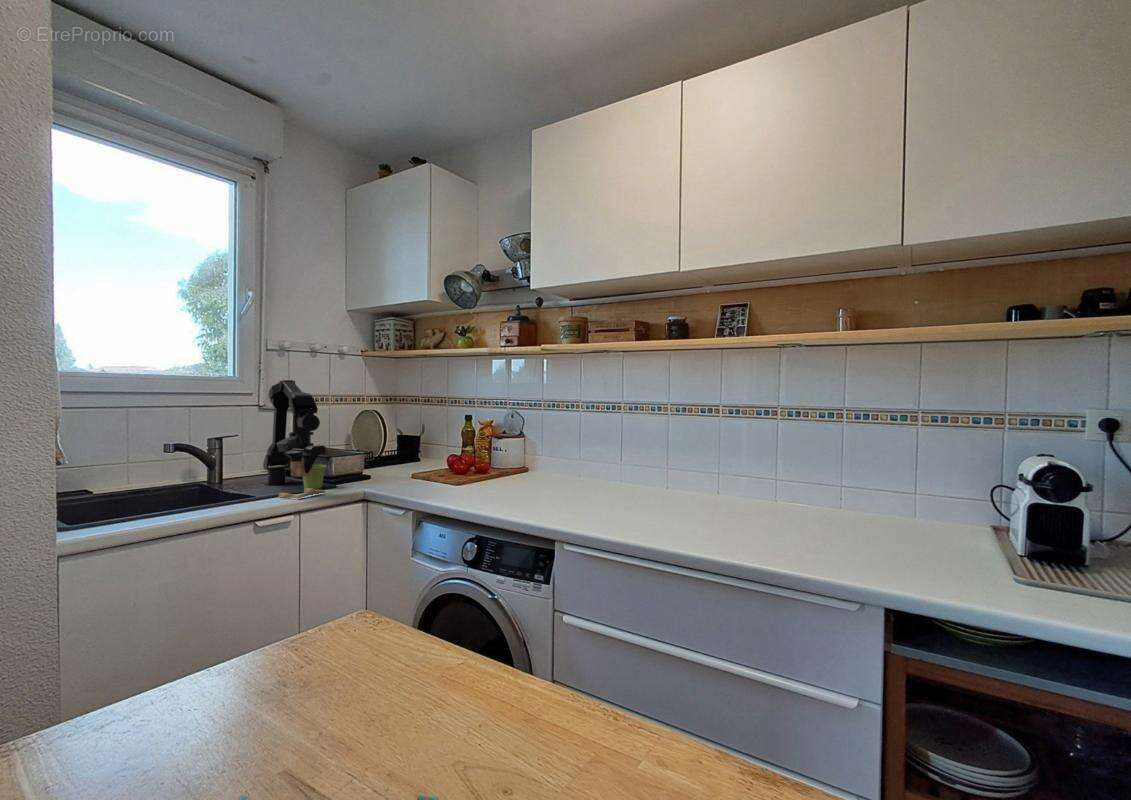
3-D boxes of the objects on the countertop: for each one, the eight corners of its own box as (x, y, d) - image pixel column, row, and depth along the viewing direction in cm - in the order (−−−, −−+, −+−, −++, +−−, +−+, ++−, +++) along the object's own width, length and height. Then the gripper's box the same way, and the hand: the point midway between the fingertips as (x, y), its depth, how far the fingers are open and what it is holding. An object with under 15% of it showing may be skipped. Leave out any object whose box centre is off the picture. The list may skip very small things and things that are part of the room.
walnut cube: (290, 476, 183) (290, 462, 183) (303, 473, 187) (303, 460, 187) (300, 477, 181) (300, 463, 181) (312, 475, 185) (312, 461, 185)
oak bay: (278, 497, 181) (278, 493, 181) (306, 491, 191) (306, 487, 191) (297, 500, 177) (297, 495, 177) (324, 494, 187) (324, 490, 187)
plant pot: (300, 487, 201) (300, 465, 200) (326, 485, 204) (326, 463, 204) (298, 491, 192) (298, 468, 192) (326, 489, 196) (326, 467, 196)
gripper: (263, 429, 180) (263, 473, 181) (299, 432, 172) (299, 478, 173) (292, 427, 190) (292, 469, 191) (327, 429, 182) (327, 473, 183)
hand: (301, 472), depth 184 cm, fingers closed on walnut cube, 5 cm apart
